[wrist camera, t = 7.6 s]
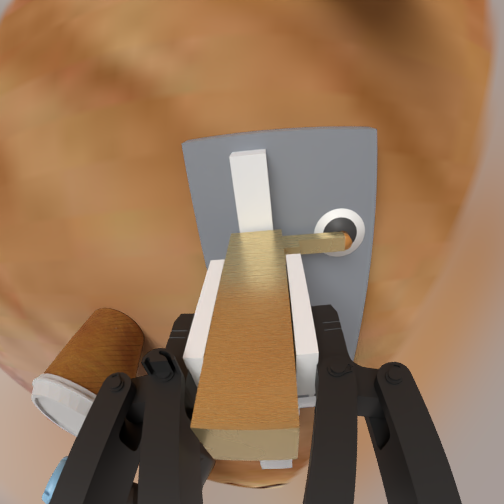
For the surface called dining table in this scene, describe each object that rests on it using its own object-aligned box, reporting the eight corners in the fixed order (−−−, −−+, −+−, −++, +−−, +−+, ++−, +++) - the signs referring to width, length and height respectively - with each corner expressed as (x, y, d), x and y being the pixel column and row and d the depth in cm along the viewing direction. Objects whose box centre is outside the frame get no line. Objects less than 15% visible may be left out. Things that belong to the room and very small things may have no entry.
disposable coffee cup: (73, 284, 24) (10, 374, 14) (158, 309, 25) (115, 423, 15) (87, 344, 29) (47, 424, 19) (159, 367, 30) (132, 459, 19)
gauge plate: (340, 393, 31) (351, 463, 22) (245, 400, 32) (240, 472, 24) (368, 126, 16) (457, 160, 8) (187, 140, 17) (117, 183, 9)
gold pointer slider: (347, 256, 19) (414, 437, 8) (239, 265, 20) (213, 459, 8) (349, 216, 17) (446, 398, 6) (233, 225, 18) (190, 427, 7)
